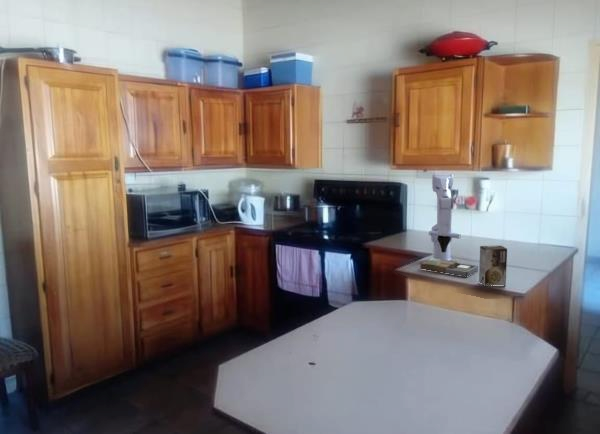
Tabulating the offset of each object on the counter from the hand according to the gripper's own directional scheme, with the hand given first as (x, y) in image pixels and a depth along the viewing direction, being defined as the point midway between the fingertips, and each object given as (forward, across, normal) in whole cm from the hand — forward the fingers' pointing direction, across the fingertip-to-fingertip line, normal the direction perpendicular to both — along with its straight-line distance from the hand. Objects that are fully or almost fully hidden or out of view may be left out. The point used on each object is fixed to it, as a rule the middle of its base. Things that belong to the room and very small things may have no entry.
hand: (443, 252), depth 223 cm
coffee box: (+9, +26, -12) cm, 30 cm away
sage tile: (+5, -3, -4) cm, 7 cm away
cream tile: (+6, +9, +1) cm, 11 cm away
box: (+8, +9, 0) cm, 12 cm away
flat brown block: (+8, -2, 0) cm, 9 cm away
